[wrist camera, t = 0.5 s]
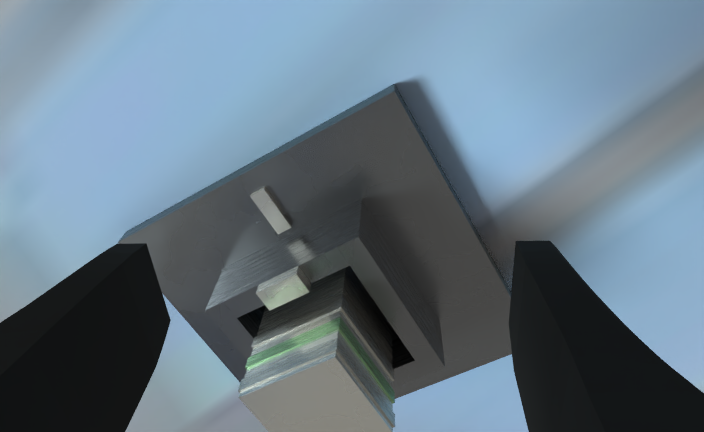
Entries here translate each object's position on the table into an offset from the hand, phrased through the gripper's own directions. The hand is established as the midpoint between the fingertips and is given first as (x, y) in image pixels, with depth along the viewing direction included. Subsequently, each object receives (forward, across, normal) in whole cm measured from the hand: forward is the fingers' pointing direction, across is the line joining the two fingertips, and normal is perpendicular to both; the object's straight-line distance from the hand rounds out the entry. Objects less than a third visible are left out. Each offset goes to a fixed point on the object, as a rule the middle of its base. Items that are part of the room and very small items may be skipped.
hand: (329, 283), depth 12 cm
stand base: (+10, +2, +8) cm, 13 cm away
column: (+10, +2, +8) cm, 13 cm away
